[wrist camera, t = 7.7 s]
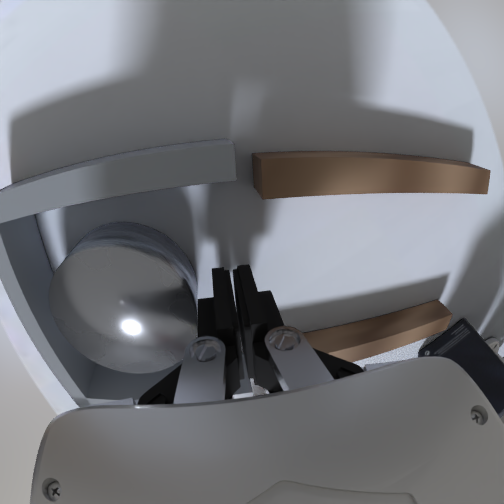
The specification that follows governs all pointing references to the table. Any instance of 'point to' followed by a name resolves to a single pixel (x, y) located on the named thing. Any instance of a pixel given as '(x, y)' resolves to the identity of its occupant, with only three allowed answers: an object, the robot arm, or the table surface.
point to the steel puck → (126, 298)
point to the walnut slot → (362, 182)
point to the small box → (472, 360)
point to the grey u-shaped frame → (39, 270)
